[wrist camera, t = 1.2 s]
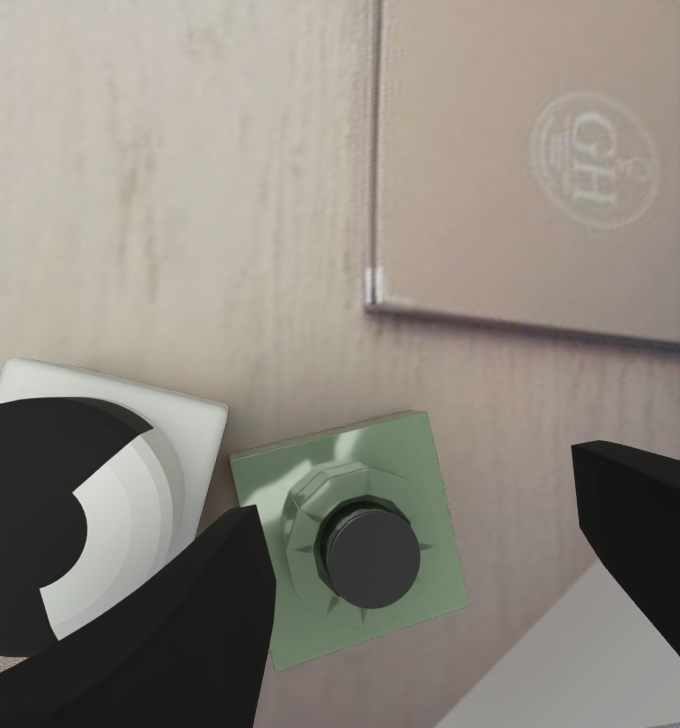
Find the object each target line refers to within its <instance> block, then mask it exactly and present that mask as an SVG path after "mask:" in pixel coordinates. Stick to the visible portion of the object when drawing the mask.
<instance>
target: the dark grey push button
mask: <svg viewBox="0 0 680 728" xmlns="http://www.w3.org/2000/svg"><path fill="white" fill-rule="evenodd" d="M320 556H321V561H322V565H323V567H324V569H325V571H326V573H327V575H328V577H329V579H330V581H331V583H332V585H333V586H334V588H335V590H336V591H337V592H338V594H339V595H340V596H341V597H342V598H343V599H344V600H346V601H347V602H349V603H350V604H352V605H354V606H357V607H360V608H365V609H378V608H383V607H386V606H389V605H391V604H393V603H395V602H397V601H398V600H399V599H401V598H402V597H403V596H404V595H405V594H406V593H407V592H408V591H409V590H410V588H411V587H412V585H413V584H414V582H415V580H416V577H417V575H418V572H419V567H420V559H421V556H420V546H419V543H418V539H417V537H416V535H415V533H414V531H413V530H412V528H411V527H410V526H409V524H408V523H407V522H406V521H404V520H403V519H402V518H400V517H399V516H398V515H396V514H395V513H394V512H392V511H391V510H390V509H388V508H387V507H385V506H383V505H381V504H379V503H376V502H371V501H359V502H355V503H352V504H349V505H347V506H345V507H343V508H341V509H340V510H339V511H337V512H336V513H335V514H334V515H333V516H332V517H331V519H330V520H329V521H328V523H327V524H326V526H325V528H324V531H323V533H322V537H321V541H320Z"/></svg>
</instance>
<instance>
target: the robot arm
mask: <svg viewBox="0 0 680 728" xmlns="http://www.w3.org/2000/svg"><path fill="white" fill-rule="evenodd" d="M571 449H572V459H573V469H574V478H575V488H576V497H577V507H578V516H579V526H580V528H581V530H582V532H583V533H584V535H585V537H586V538H587V540H588V542H589V543H590V545H591V547H592V548H593V550H594V551H595V553H596V554H597V556H598V557H599V559H600V560H601V562H602V563H603V565H604V566H605V567H606V569H607V570H608V571H609V572H610V574H611V575H612V576H613V577H614V578H615V580H616V581H617V582H618V583H619V585H620V586H621V587H622V588H623V589H624V591H625V592H626V593H627V594H628V595H629V596H630V598H631V599H632V600H633V601H634V603H635V604H636V605H637V606H638V607H639V609H640V610H641V611H642V612H643V613H644V614H645V616H646V617H647V618H648V619H649V620H650V622H651V623H652V624H653V625H654V626H655V628H656V629H657V630H658V631H659V632H660V633H661V635H662V636H663V637H664V638H665V639H666V641H667V642H668V643H669V644H670V645H671V647H672V648H673V649H674V650H675V651H676V652H677V654H678V655H679V656H680V460H676V459H672V458H669V457H665V456H662V455H658V454H655V453H651V452H647V451H644V450H640V449H637V448H633V447H629V446H625V445H621V444H617V443H613V442H608V441H601V440H597V441H592V442H586V443H581V444H576V445H571ZM276 583H277V581H276V577H275V573H274V570H273V566H272V562H271V558H270V554H269V551H268V547H267V543H266V539H265V535H264V532H263V528H262V524H261V520H260V517H259V513H258V509H257V505H256V504H254V505H249V506H244V507H238V508H233V509H230V510H228V511H227V512H225V513H224V514H223V515H222V516H220V517H219V518H218V519H217V520H216V521H215V522H214V523H212V524H211V525H210V526H209V527H208V528H207V529H206V530H205V531H204V532H203V533H202V534H200V535H199V536H198V537H197V538H196V539H195V540H194V541H193V542H192V543H191V544H189V545H188V546H187V547H186V548H185V549H184V550H183V551H182V552H181V553H180V554H178V555H177V556H176V557H175V558H174V559H173V560H171V561H170V562H169V563H168V564H167V565H165V566H164V567H163V568H162V569H161V570H159V571H158V572H157V573H156V574H155V575H154V576H152V577H151V578H150V579H149V580H148V581H146V582H145V583H144V584H143V585H141V586H140V587H139V588H138V589H136V590H135V591H134V592H132V593H131V594H130V595H128V596H127V597H126V598H124V599H123V600H121V601H120V602H119V603H117V604H116V605H114V606H113V607H111V608H110V609H109V610H107V611H106V612H104V613H103V614H101V615H100V616H98V617H97V618H95V619H94V620H92V621H91V622H89V623H87V624H86V625H84V626H82V627H81V628H79V629H78V630H76V631H74V632H73V633H71V634H69V635H68V636H66V637H64V638H63V639H61V640H59V641H58V642H56V643H54V644H53V645H51V646H49V647H48V648H46V649H44V650H43V651H41V652H39V653H37V654H35V655H33V656H32V657H30V658H28V659H26V660H24V661H22V662H20V663H19V664H17V665H15V666H13V667H11V668H9V669H7V670H5V671H3V672H1V673H0V728H253V723H254V718H255V713H256V708H257V703H258V699H259V694H260V689H261V684H262V679H263V674H264V670H265V665H266V660H267V655H268V650H269V645H270V640H271V635H272V630H273V625H274V615H275V601H276ZM649 728H680V723H674V724H668V725H662V726H655V727H649Z"/></svg>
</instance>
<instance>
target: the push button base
mask: <svg viewBox="0 0 680 728" xmlns="http://www.w3.org/2000/svg"><path fill="white" fill-rule="evenodd" d="M230 465H231V470H232V475H233V479H234V484H235V489H236V493H237V498H238V502H239V507H244V506H249V505H254V504H256V505H257V509H258V513H259V517H260V520H261V524H262V528H263V532H264V535H265V539H266V543H267V547H268V551H269V554H270V558H271V562H272V566H273V570H274V573H275V577H276V581H277V583H276V601H275V615H274V625H273V630H272V635H271V640H270V645H269V646H270V651H271V655H272V660H273V665H274V669H275V672H277V671H280V670H283V669H286V668H289V667H292V666H295V665H297V664H300V663H303V662H306V661H309V660H312V659H315V658H318V657H321V656H324V655H327V654H330V653H332V652H335V651H338V650H341V649H344V648H347V647H350V646H353V645H356V644H359V643H362V642H364V641H367V640H370V639H373V638H376V637H379V636H382V635H385V634H388V633H391V632H394V631H396V630H399V629H402V628H405V627H408V626H411V625H414V624H417V623H420V622H423V621H426V620H428V619H431V618H434V617H437V616H440V615H443V614H446V613H449V612H452V611H455V610H458V609H461V608H463V607H466V606H469V605H470V604H469V599H468V594H467V590H466V585H465V581H464V576H463V572H462V567H461V563H460V558H459V554H458V549H457V545H456V540H455V536H454V531H453V526H452V522H451V517H450V513H449V508H448V504H447V499H446V495H445V490H444V486H443V481H442V477H441V472H440V467H439V463H438V458H437V454H436V449H435V445H434V440H433V436H432V431H431V427H430V422H429V418H428V413H427V412H426V411H415V410H408V411H404V412H400V413H396V414H392V415H387V416H383V417H379V418H375V419H371V420H367V421H363V422H359V423H355V424H351V425H346V426H342V427H338V428H334V429H330V430H326V431H322V432H318V433H314V434H310V435H306V436H301V437H297V438H293V439H289V440H285V441H281V442H277V443H273V444H269V445H265V446H261V447H256V448H252V449H248V450H244V451H240V452H236V453H232V454H230ZM359 501H371V502H376V503H379V504H381V505H383V506H385V507H387V508H388V509H390V510H391V511H392V512H394V513H395V514H396V515H398V516H399V517H400V518H402V519H403V520H404V521H406V522H407V523H408V524H409V526H410V527H411V528H412V530H413V531H414V533H415V535H416V537H417V539H418V543H419V546H420V556H421V559H420V567H419V572H418V575H417V577H416V580H415V582H414V584H413V585H412V587H411V588H410V590H409V591H408V592H407V593H406V594H405V595H404V596H403V597H402V598H401V599H399V600H398V601H397V602H395V603H393V604H391V605H389V606H386V607H383V608H378V609H365V608H360V607H357V606H354V605H352V604H350V603H349V602H347V601H346V600H344V599H343V598H342V597H341V596H340V595H339V594H338V592H337V591H336V590H335V588H334V586H333V585H332V583H331V581H330V579H329V577H328V575H327V573H326V571H325V569H324V567H323V565H322V561H321V556H320V541H321V537H322V533H323V531H324V528H325V526H326V524H327V523H328V521H329V520H330V519H331V517H332V516H333V515H334V514H335V513H336V512H337V511H339V510H340V509H341V508H343V507H345V506H347V505H349V504H352V503H355V502H359Z"/></svg>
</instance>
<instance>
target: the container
mask: <svg viewBox="0 0 680 728" xmlns="http://www.w3.org/2000/svg"><path fill="white" fill-rule="evenodd" d="M228 413H229V408H228V407H227V405H226V404H224V403H222V402H218V401H214V400H210V399H205V398H201V397H197V396H193V395H189V394H185V393H181V392H177V391H173V390H169V389H165V388H161V387H157V386H153V385H149V384H145V383H140V382H136V381H132V380H128V379H124V378H120V377H116V376H112V375H108V374H104V373H100V372H96V371H92V370H88V369H84V368H80V367H74V366H68V365H62V364H56V363H50V362H44V361H38V360H32V359H26V358H16V357H13V358H11V359H9V360H7V361H6V362H5V364H4V365H3V367H2V370H1V374H0V656H5V657H32V656H33V655H35V654H37V653H39V652H41V651H43V650H44V649H46V648H48V647H49V646H51V645H53V644H54V643H56V642H58V641H59V640H61V639H63V638H64V637H66V636H68V635H69V634H71V633H73V632H74V631H76V630H78V629H79V628H81V627H82V626H84V625H86V624H87V623H89V622H91V621H92V620H94V619H95V618H97V617H98V616H100V615H101V614H103V613H104V612H106V611H107V610H109V609H110V608H111V607H113V606H114V605H116V604H117V603H119V602H120V601H121V600H123V599H124V598H126V597H127V596H128V595H130V594H131V593H132V592H134V591H135V590H136V589H138V588H139V587H140V586H141V585H143V584H144V583H145V582H146V581H148V580H149V579H150V578H151V577H152V576H154V575H155V574H156V573H157V572H158V571H159V570H161V569H162V568H163V567H164V566H165V565H167V564H168V563H169V562H170V561H171V560H173V559H174V558H175V557H176V556H177V555H178V554H180V553H181V552H182V551H183V550H184V549H185V548H186V547H187V546H188V545H189V544H191V543H192V542H193V541H194V539H195V535H196V531H197V528H198V524H199V520H200V517H201V513H202V509H203V506H204V502H205V498H206V495H207V491H208V487H209V484H210V480H211V476H212V473H213V469H214V465H215V462H216V458H217V454H218V451H219V447H220V443H221V440H222V436H223V432H224V429H225V425H226V421H227V417H228Z"/></svg>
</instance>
